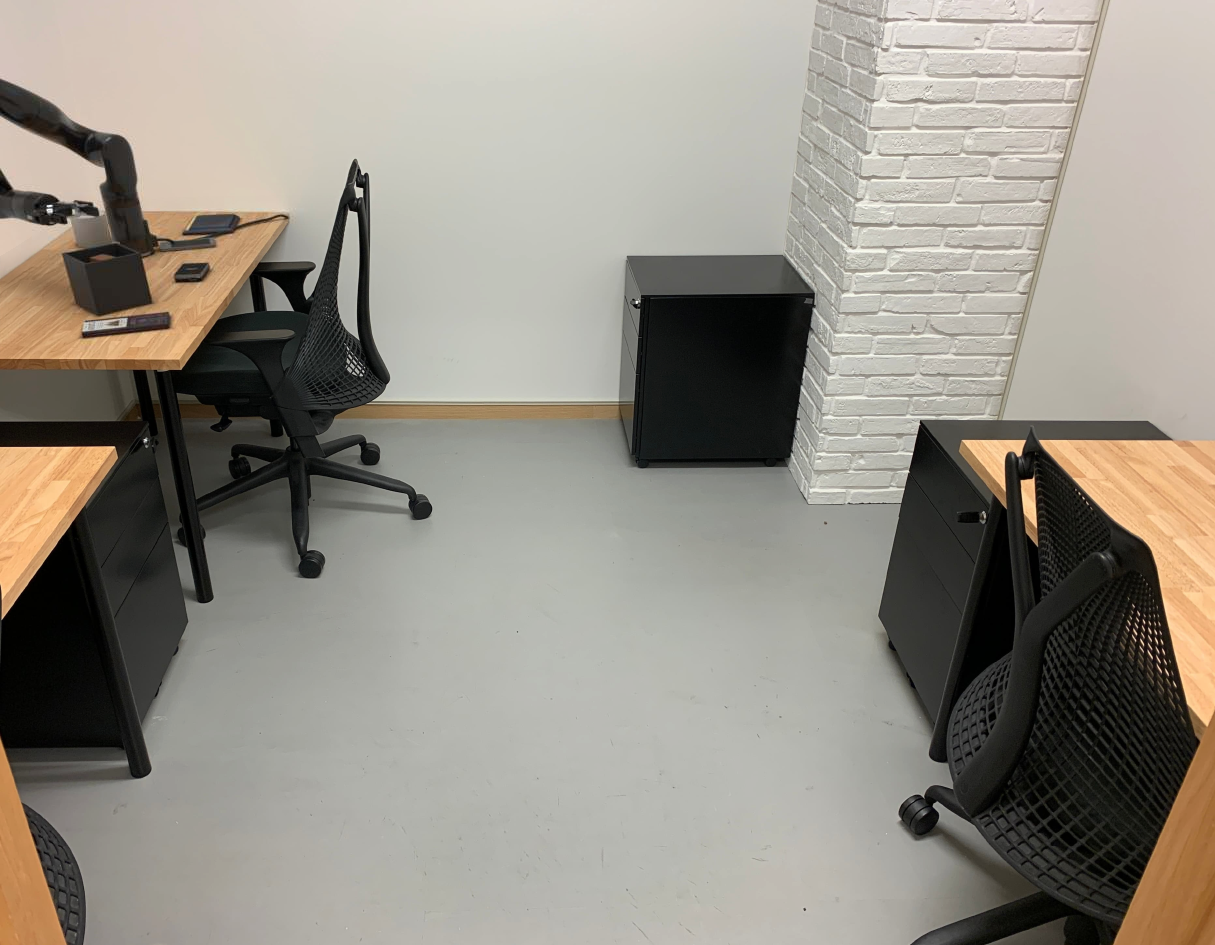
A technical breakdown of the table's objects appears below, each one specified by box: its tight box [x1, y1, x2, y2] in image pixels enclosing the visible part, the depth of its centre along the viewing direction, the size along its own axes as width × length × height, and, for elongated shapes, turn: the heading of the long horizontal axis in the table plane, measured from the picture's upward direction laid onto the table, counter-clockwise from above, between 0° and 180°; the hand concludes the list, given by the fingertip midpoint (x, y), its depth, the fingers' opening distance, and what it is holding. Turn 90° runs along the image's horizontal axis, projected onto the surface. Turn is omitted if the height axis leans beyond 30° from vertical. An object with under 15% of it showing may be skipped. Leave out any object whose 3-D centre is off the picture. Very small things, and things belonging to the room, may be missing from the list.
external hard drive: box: [173, 262, 211, 283], centre depth 248 cm, size 7×11×2 cm, turn 9°
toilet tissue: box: [69, 210, 113, 249], centre depth 274 cm, size 9×13×9 cm
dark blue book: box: [182, 213, 240, 236], centre depth 293 cm, size 20×2×15 cm
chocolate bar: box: [81, 311, 170, 339], centre depth 214 cm, size 9×1×18 cm
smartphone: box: [159, 237, 216, 252], centre depth 274 cm, size 15×8×1 cm, turn 113°
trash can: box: [61, 243, 154, 317], centre depth 226 cm, size 13×13×13 cm
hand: (81, 216), depth 220 cm, fingers open, 8 cm apart
